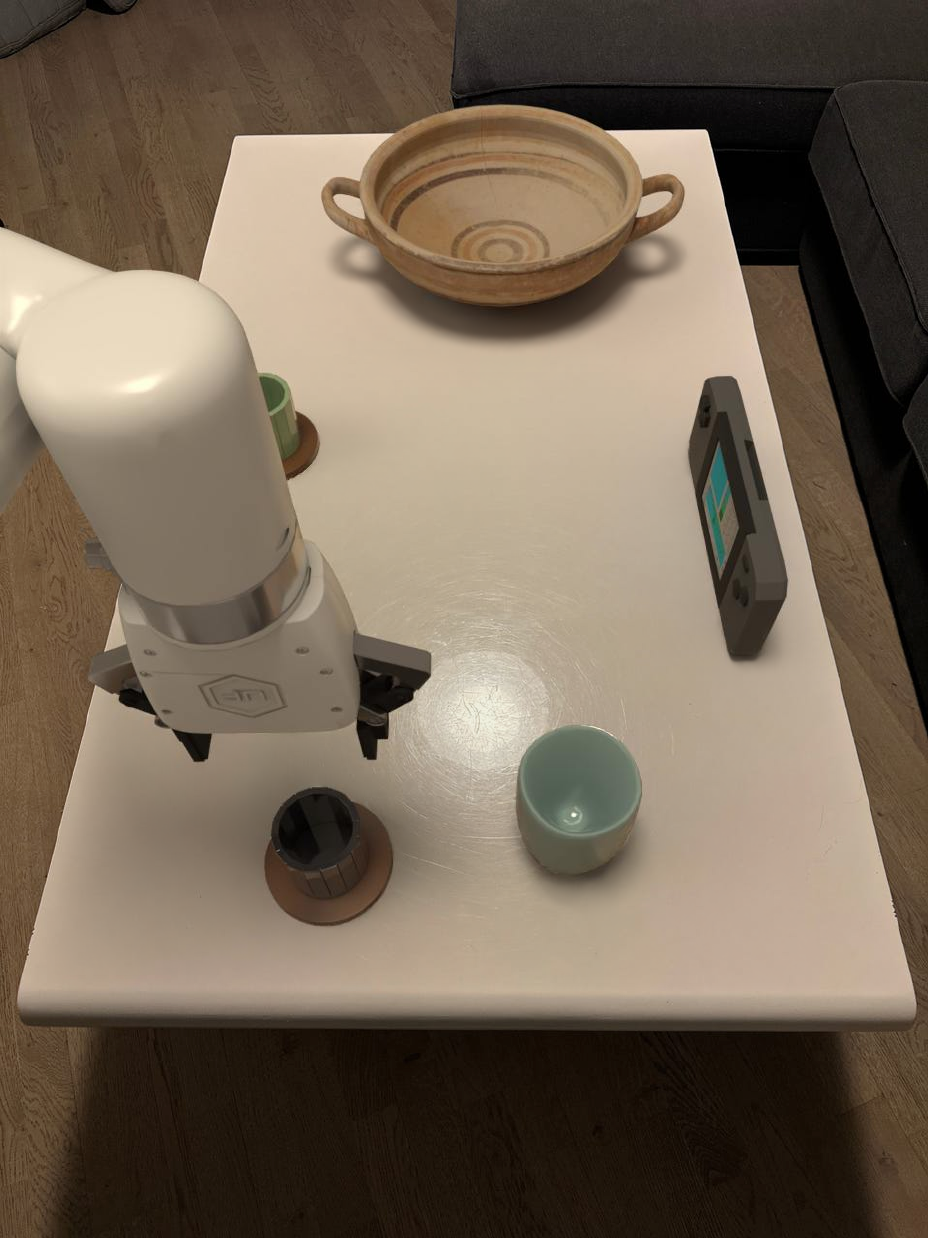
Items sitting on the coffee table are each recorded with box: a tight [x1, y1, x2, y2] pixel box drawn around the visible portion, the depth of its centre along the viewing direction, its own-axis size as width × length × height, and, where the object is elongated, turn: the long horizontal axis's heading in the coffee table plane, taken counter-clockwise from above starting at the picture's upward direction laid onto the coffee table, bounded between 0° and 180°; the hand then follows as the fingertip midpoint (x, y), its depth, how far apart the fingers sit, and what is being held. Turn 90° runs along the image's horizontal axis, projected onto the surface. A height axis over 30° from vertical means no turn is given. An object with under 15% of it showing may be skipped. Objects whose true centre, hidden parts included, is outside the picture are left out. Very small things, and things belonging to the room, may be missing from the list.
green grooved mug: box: [258, 372, 301, 461], centre depth 86 cm, size 6×7×6 cm
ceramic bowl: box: [320, 104, 686, 307], centre depth 99 cm, size 37×29×10 cm
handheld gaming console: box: [688, 375, 789, 655], centre depth 77 cm, size 23×3×10 cm, turn 1°
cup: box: [515, 724, 643, 876], centre depth 63 cm, size 8×8×10 cm
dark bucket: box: [270, 786, 369, 899], centre depth 64 cm, size 6×7×6 cm
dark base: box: [263, 800, 394, 927], centre depth 66 cm, size 9×9×1 cm
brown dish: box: [282, 410, 320, 481], centre depth 88 cm, size 9×9×1 cm
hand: (288, 737), depth 54 cm, fingers open, 9 cm apart
